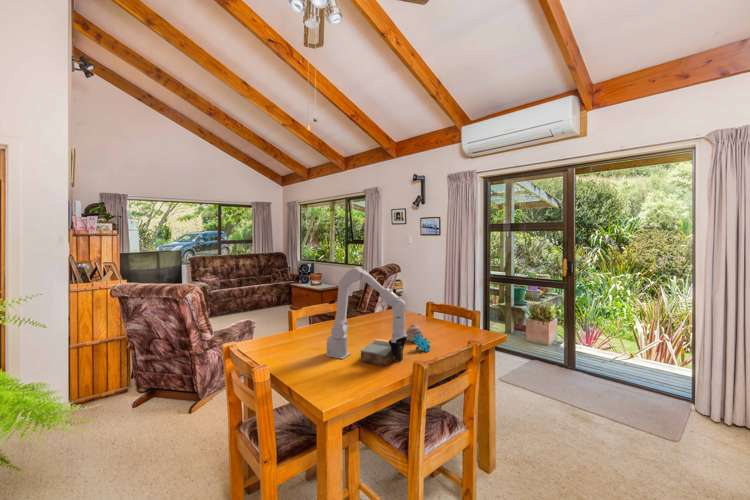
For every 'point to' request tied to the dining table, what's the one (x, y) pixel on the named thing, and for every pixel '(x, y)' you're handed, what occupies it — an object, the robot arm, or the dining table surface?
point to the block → (399, 354)
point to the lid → (378, 347)
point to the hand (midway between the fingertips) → (398, 353)
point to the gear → (422, 343)
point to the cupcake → (413, 332)
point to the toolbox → (376, 359)
